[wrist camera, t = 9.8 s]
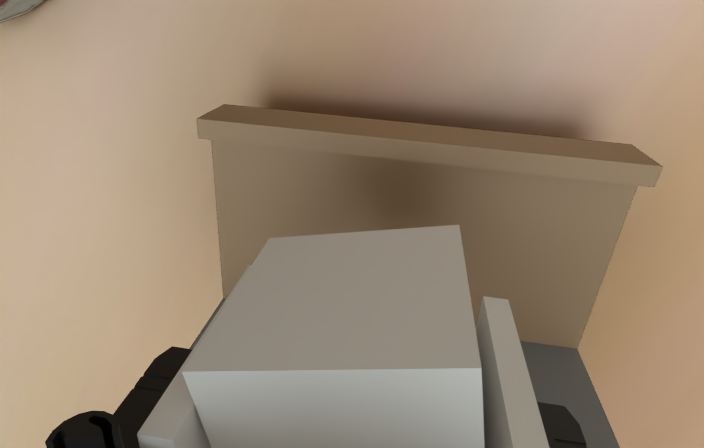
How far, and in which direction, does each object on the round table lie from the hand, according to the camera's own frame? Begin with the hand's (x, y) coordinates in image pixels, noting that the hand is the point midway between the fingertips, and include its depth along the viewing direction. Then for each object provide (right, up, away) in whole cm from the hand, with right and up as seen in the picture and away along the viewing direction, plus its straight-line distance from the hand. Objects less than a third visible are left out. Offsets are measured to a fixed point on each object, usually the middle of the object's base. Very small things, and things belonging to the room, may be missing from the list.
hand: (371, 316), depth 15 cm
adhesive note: (0, 0, +1) cm, 1 cm away
